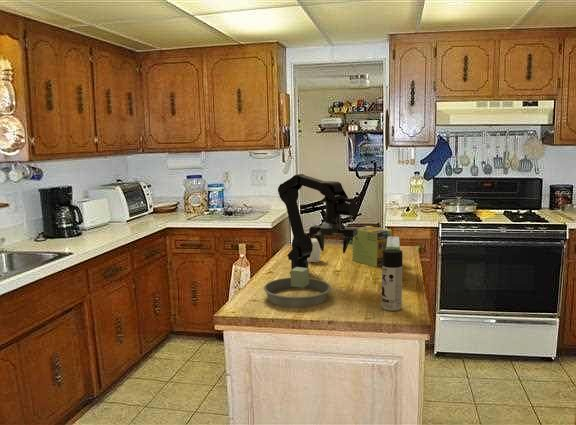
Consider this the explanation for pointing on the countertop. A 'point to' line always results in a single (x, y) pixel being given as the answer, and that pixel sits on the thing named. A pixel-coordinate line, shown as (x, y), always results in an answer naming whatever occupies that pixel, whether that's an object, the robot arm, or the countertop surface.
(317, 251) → the white cup
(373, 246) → the protein box
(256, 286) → the countertop surface
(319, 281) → the cake pan
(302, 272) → the olive block
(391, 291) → the spray can
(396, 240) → the snack box
